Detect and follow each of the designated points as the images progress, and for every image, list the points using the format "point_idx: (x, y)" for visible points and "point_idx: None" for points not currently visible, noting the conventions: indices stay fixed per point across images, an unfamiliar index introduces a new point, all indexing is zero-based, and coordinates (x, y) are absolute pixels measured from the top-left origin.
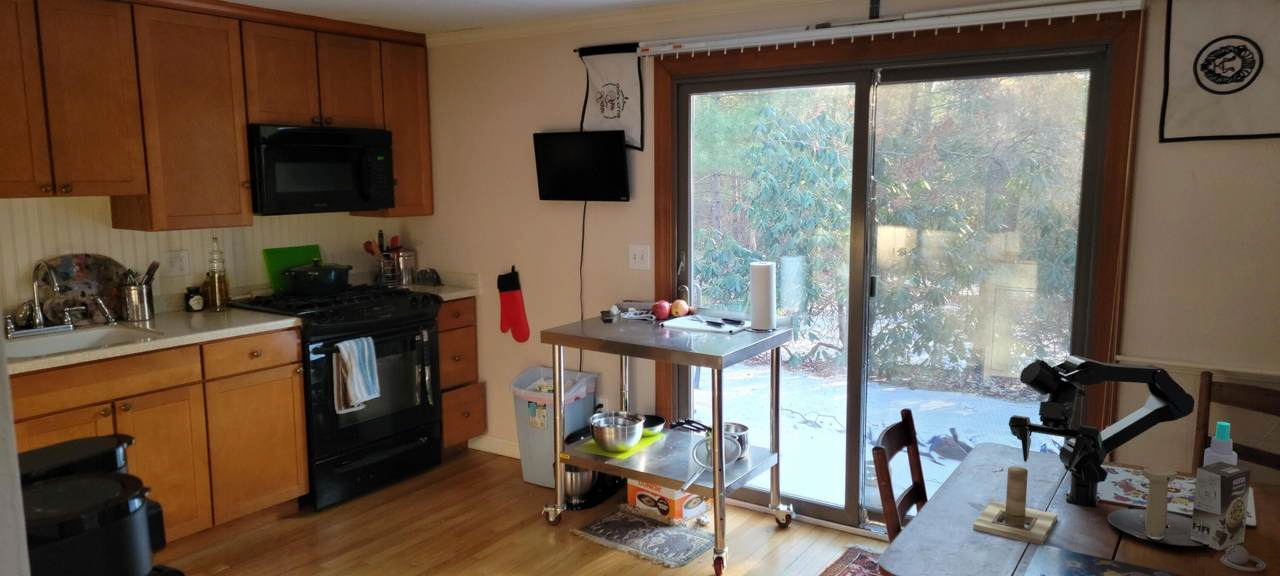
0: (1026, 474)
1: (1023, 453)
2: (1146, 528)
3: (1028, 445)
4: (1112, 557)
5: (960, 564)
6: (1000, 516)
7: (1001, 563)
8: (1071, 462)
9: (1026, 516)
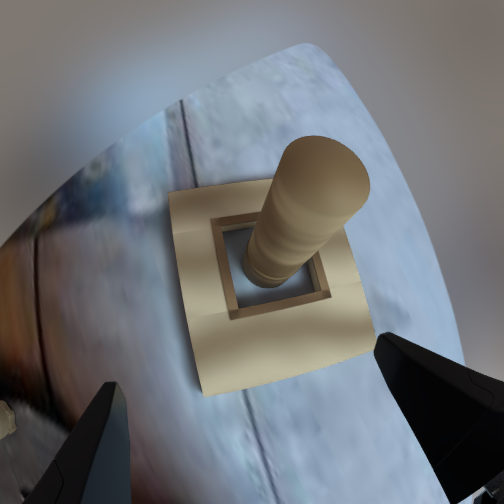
0: (277, 170)
1: (417, 346)
2: (1, 410)
3: (443, 425)
4: (36, 247)
5: (251, 65)
6: (312, 266)
7: (204, 92)
8: (94, 408)
9: (259, 305)
